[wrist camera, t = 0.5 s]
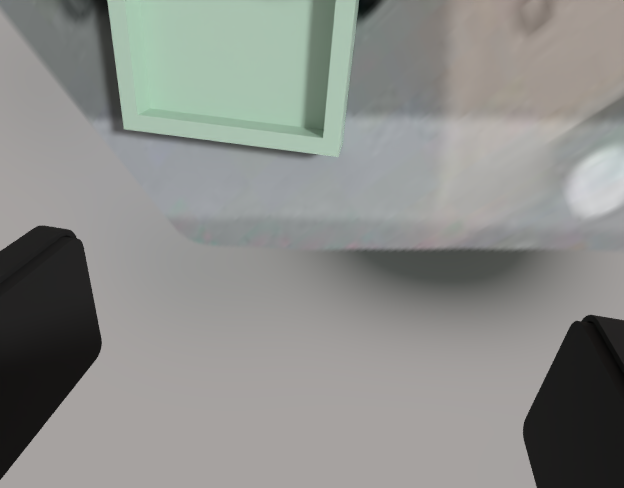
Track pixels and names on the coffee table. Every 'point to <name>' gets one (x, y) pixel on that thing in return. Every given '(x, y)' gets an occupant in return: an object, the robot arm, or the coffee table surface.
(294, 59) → the tray
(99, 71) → the coffee table surface
